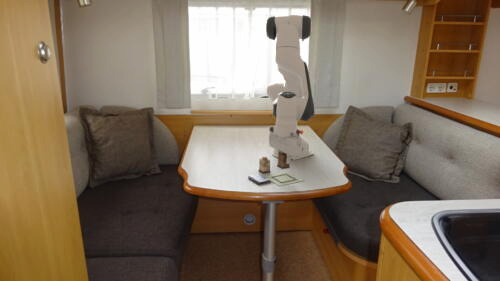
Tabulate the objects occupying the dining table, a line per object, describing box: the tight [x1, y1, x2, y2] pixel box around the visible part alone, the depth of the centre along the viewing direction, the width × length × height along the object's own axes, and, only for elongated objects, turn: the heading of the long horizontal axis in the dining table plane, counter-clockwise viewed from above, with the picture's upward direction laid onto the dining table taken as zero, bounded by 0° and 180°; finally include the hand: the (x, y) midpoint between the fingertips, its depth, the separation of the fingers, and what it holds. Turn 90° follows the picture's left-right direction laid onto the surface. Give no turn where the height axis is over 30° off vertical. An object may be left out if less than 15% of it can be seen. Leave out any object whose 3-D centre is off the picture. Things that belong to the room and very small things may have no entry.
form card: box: [264, 171, 305, 187], centre depth 162 cm, size 13×12×1 cm
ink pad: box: [247, 173, 272, 186], centre depth 159 cm, size 6×9×1 cm, turn 30°
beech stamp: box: [258, 156, 271, 175], centre depth 169 cm, size 4×4×7 cm
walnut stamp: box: [276, 152, 291, 170], centre depth 159 cm, size 4×4×7 cm
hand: (284, 161), depth 159 cm, fingers closed on walnut stamp, 4 cm apart
